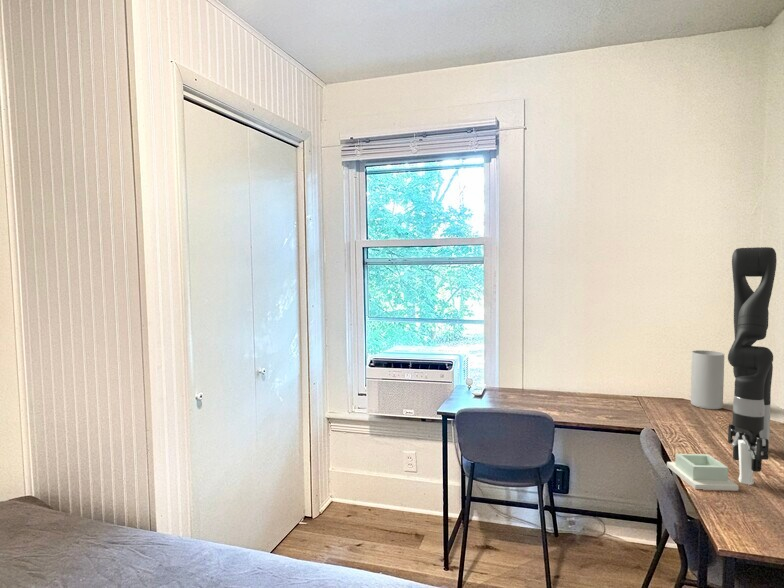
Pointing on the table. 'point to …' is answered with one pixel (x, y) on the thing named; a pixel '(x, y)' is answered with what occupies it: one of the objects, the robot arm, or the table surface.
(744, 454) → the perfume bottle
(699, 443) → the table surface
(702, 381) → the cylinder vase
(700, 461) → the stand
